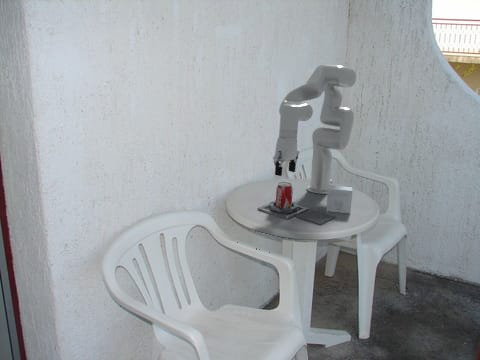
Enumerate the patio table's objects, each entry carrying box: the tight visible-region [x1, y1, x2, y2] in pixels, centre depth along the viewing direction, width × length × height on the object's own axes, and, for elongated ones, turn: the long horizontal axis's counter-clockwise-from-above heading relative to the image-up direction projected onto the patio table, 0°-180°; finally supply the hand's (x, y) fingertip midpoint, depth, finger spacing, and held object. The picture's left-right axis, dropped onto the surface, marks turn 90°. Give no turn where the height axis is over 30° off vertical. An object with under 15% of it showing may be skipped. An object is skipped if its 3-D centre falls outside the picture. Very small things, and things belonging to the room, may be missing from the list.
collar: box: [257, 199, 310, 220], centre depth 202 cm, size 16×16×2 cm
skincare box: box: [325, 184, 353, 214], centre depth 203 cm, size 10×6×10 cm, turn 78°
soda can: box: [275, 181, 294, 208], centre depth 201 cm, size 7×7×12 cm
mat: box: [295, 208, 337, 226], centre depth 195 cm, size 12×12×1 cm
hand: (285, 173), depth 197 cm, fingers open, 9 cm apart
